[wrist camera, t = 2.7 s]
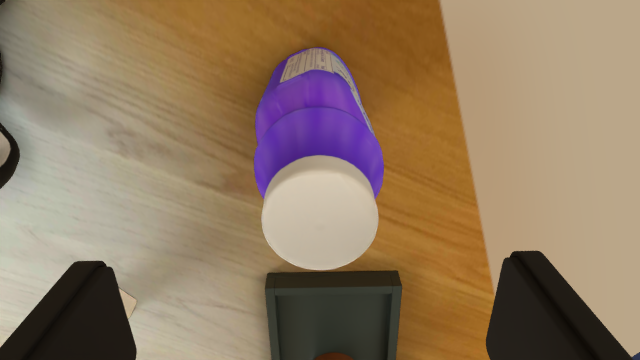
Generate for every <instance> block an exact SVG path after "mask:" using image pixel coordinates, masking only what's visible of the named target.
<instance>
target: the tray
mask: <svg viewBox="0 0 640 360" xmlns="http://www.w3.org/2000/svg"><path fill="white" fill-rule="evenodd" d="M401 293H402V284H401V281H400V277H399V274H398V271H361V272H304V273H268V274H267V280H266V286H265V295H266V305H267V316H268V326H269V337H270V347H271V358H272V360H314V359H315V358H316V357H318V356H320V355H322V354H326V353H332V352H336V353H342V354H346V355H348V356H350V357H351V358H353V359H354V360H396V351H397V339H398V328H399V316H400V305H401Z"/></svg>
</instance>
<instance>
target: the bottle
mask: <svg viewBox="0 0 640 360" xmlns="http://www.w3.org/2000/svg"><path fill="white" fill-rule="evenodd" d="M255 127H256V136H257V143H258V146H257V148H256V151H255V156H254V171H255V178H256V183H257V186H258V189H259V192H260V193H261V195H262V197H263V199H264V205H263V209H262V218H261V220H262V228H263V233H264V235H265V238H266V240H267V242H268V244H269V245H270V246H271V248H272V249H273V250H274V251H275V252H276V253H277V254H278V255H279V256H280V257H281V258H283V259H284V260H286V261H287V262H289V263H291V264H293V265H295V266H299V267H302V268H305V269H312V270H329V269H335V268H338V267H341V266H344V265H347V264H349V263H350V262H352V261H354V260H355V259H357V258H358V257H360V256H361V255H362V254H363V253H364V252H365V251H366V250H367V249H368V248H369V246H370V245H371V243H372V241H373V240H374V237H375V235H376V232H377V227H378V210H377V206H376V202H375V199H376V197H377V195H378V193H379V191H380V188H381V186H382V182H383V172H384V164H383V157H382V151H381V148H380V145H379V143H378V141H377V139H376V138H375V135H374V132H373V129H372V126H371V123H370V121H369V119H368V117H367V114H366V112H365V110H364V108H363V106H362V103H361V99H360V95H359V92H358V89H357V86H356V84H355V81H354V79H353V77H352V75H351V73H350V71H349V69H348V67H347V66H346V64H345V63H344V62H343V61H342V59H341V58H340V57H339V56H338V55H337V54H335V53H334V52H333V51H331V50H329V49H326V48H322V47H316V48H310V49H303V50H301V51H299V52H297V53H294V54H292V55H290V56H289V57H287V59H285V60H283V61H282V62H281V63H280V64H279V65H278V66H277V67H276V69H275V70H274V72H273V74H272V77H271V79H270V81H269V83H268V86H267V88H266V90H265V92H264V94H263V96H262V99H261V101H260V103H259V106H258V108H257V112H256V121H255Z"/></svg>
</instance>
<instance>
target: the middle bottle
mask: <svg viewBox="0 0 640 360" xmlns="http://www.w3.org/2000/svg"><path fill="white" fill-rule="evenodd" d="M314 360H354V359H353V358H351V357H350V356H348V355H346V354H342V353H336V352H332V353H326V354H322V355H320V356H318V357H316V358H315V359H314Z"/></svg>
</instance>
